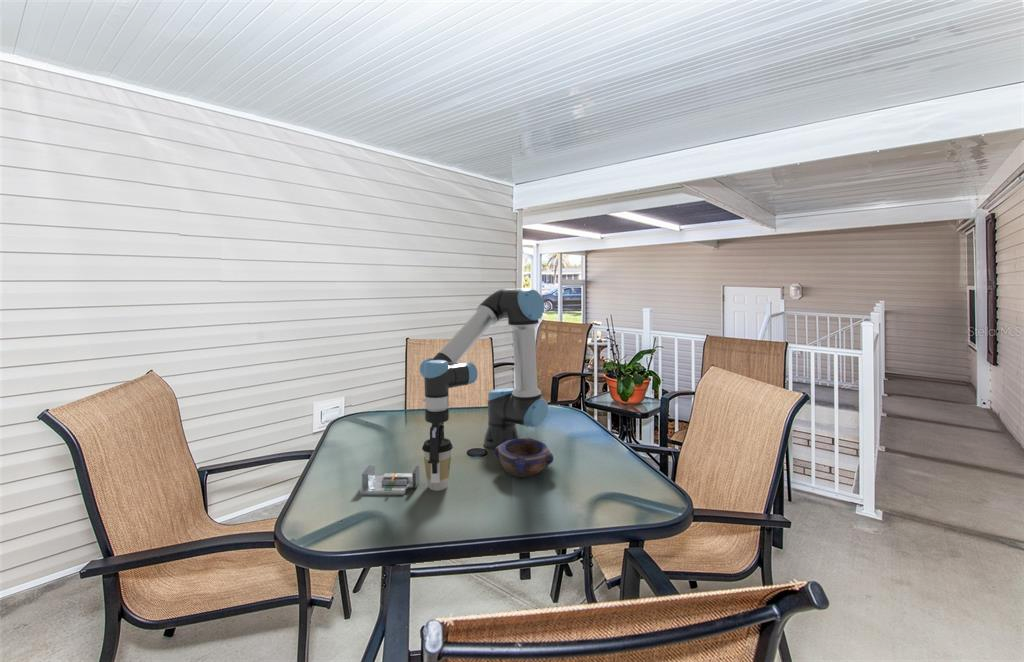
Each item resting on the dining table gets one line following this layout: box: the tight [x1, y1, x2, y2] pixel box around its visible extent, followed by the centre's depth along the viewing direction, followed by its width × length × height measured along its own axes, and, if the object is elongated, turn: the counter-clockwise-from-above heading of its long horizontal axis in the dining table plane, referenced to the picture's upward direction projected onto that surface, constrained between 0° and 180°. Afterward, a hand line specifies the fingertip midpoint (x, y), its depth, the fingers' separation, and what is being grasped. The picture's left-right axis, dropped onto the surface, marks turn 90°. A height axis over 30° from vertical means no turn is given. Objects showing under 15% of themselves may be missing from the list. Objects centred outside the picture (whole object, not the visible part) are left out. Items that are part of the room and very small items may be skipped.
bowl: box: [494, 437, 554, 478], centre depth 161 cm, size 18×18×10 cm
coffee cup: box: [421, 437, 454, 491], centre depth 150 cm, size 10×10×15 cm
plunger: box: [382, 465, 420, 489], centre depth 149 cm, size 11×8×5 cm
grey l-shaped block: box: [359, 465, 411, 496], centre depth 150 cm, size 14×12×6 cm
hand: (437, 475), depth 150 cm, fingers open, 9 cm apart
